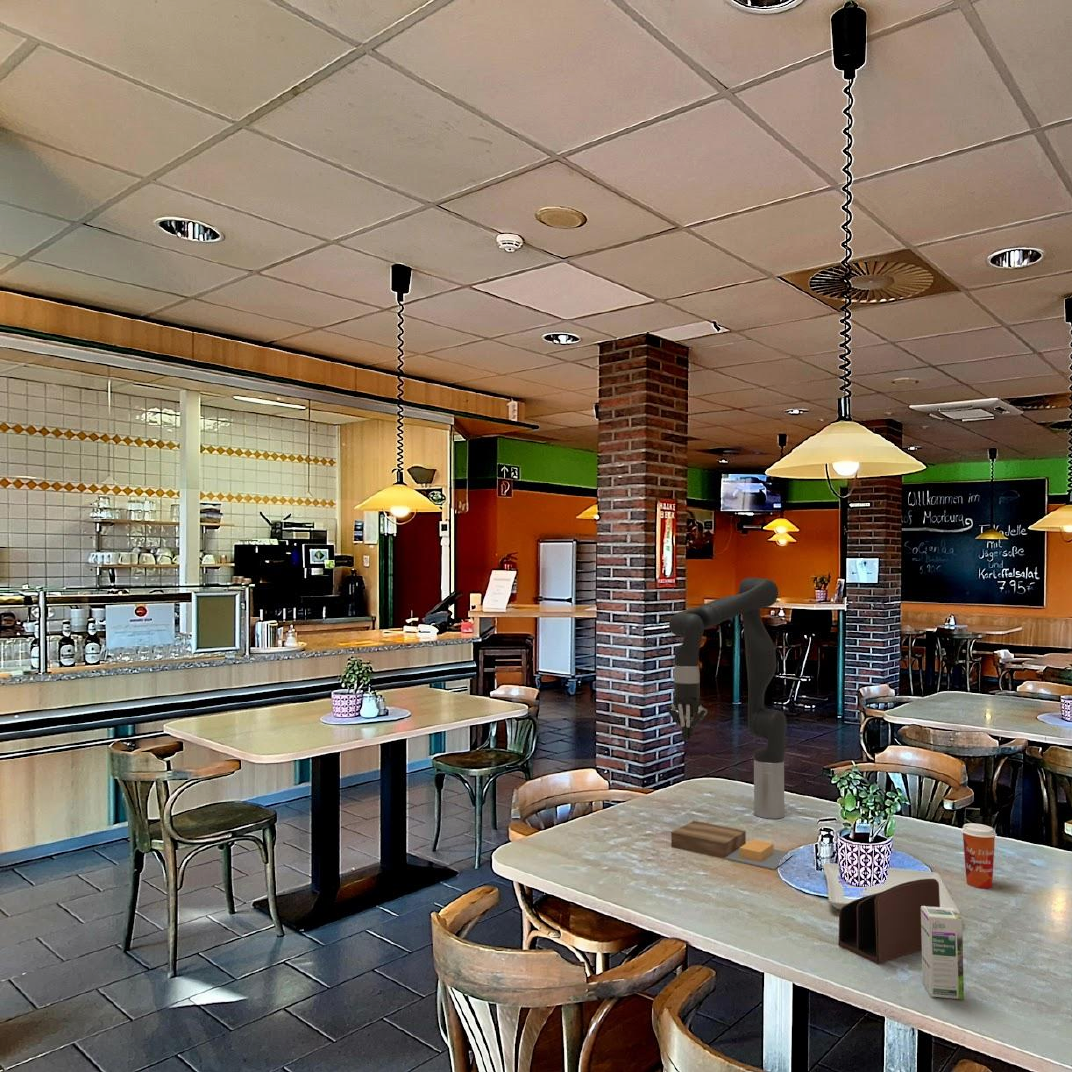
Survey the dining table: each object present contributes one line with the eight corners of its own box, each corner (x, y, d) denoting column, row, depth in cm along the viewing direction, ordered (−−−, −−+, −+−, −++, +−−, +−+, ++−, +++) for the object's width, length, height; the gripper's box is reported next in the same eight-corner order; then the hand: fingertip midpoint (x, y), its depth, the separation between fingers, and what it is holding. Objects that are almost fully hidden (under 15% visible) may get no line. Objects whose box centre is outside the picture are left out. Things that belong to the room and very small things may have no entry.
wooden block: (693, 834, 248) (693, 820, 248) (745, 845, 238) (745, 830, 238) (671, 846, 237) (671, 832, 237) (724, 858, 227) (724, 843, 227)
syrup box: (930, 997, 153) (929, 916, 154) (921, 982, 159) (920, 903, 160) (964, 1000, 152) (963, 918, 153) (953, 985, 158) (952, 906, 159)
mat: (746, 844, 239) (746, 843, 239) (794, 854, 230) (794, 853, 230) (724, 859, 227) (724, 857, 227) (774, 870, 218) (774, 868, 218)
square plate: (938, 886, 209) (937, 870, 209) (961, 931, 183) (961, 913, 183) (822, 875, 216) (822, 859, 217) (829, 916, 190) (829, 899, 190)
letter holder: (941, 944, 176) (940, 875, 176) (878, 966, 166) (878, 892, 167) (899, 926, 185) (899, 861, 185) (837, 946, 175) (837, 876, 175)
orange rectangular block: (773, 843, 231) (773, 853, 231) (752, 839, 234) (752, 848, 234) (760, 852, 224) (760, 861, 223) (739, 847, 227) (739, 857, 227)
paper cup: (964, 887, 207) (963, 829, 208) (960, 877, 214) (959, 821, 215) (1000, 892, 204) (999, 833, 205) (994, 881, 212) (994, 824, 212)
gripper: (712, 681, 251) (713, 739, 250) (672, 677, 258) (672, 734, 258) (702, 683, 244) (702, 744, 244) (660, 680, 252) (661, 739, 252)
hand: (687, 739), depth 251 cm, fingers closed
